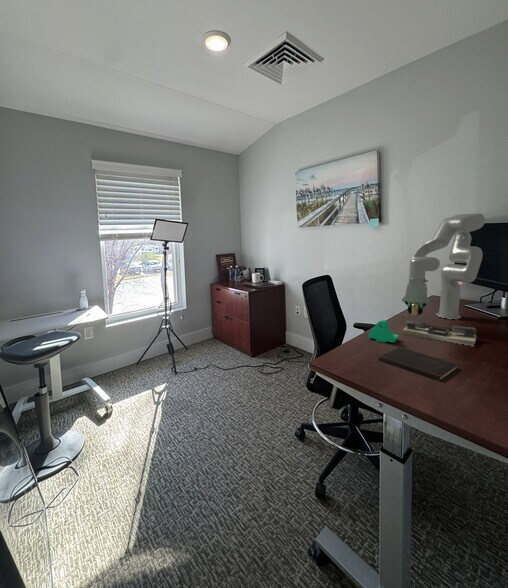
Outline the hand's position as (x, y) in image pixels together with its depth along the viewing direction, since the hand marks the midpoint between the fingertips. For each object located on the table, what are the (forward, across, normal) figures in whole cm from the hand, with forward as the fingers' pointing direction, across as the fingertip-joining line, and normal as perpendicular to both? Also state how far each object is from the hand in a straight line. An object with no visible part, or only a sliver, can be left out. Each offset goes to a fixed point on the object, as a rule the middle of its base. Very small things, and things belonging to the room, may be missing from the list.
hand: (415, 313), depth 167 cm
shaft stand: (+6, -14, +15) cm, 21 cm away
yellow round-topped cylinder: (+1, 0, 0) cm, 1 cm away
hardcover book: (+6, -12, +55) cm, 57 cm away
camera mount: (+6, +6, +34) cm, 35 cm away
